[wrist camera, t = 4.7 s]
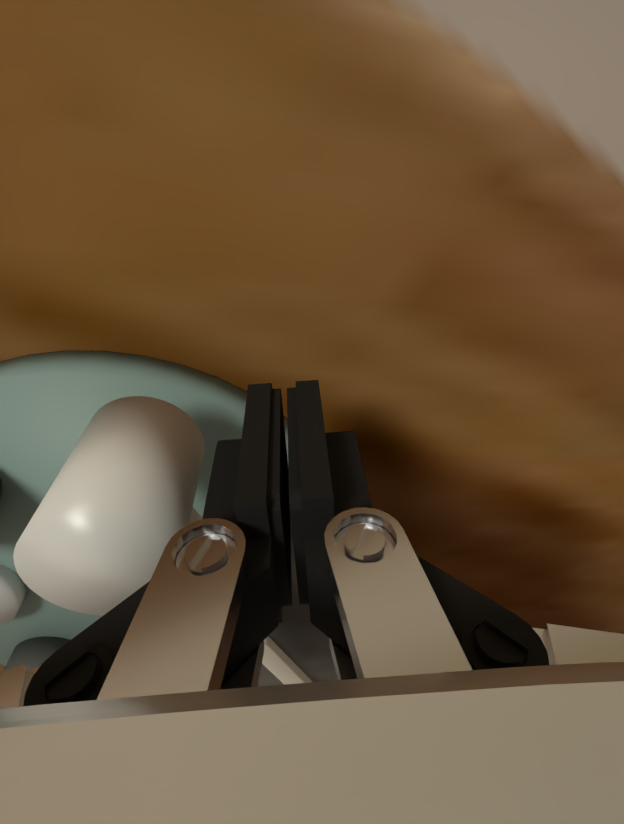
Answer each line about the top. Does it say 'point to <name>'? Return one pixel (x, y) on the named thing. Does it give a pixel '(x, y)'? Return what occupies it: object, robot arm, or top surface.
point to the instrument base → (52, 445)
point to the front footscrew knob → (140, 527)
